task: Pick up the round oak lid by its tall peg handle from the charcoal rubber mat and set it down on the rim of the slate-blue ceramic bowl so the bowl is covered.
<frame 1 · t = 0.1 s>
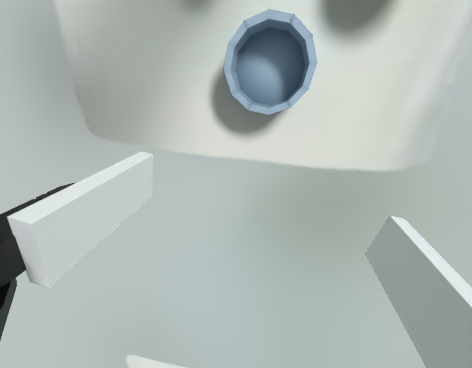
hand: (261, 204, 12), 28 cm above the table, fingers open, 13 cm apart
bowl: (269, 69, 33), on the table
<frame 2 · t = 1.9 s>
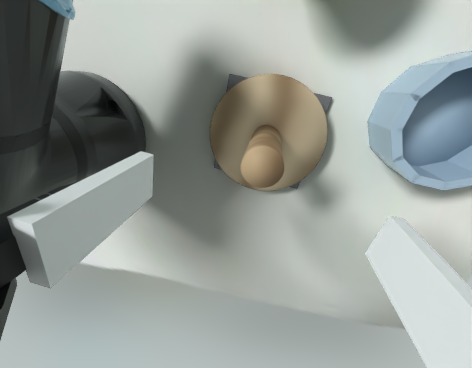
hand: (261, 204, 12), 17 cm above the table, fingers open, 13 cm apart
mat: (266, 135, 27), on the table
bowl: (427, 119, 24), on the table
lid: (266, 136, 27), resting on mat
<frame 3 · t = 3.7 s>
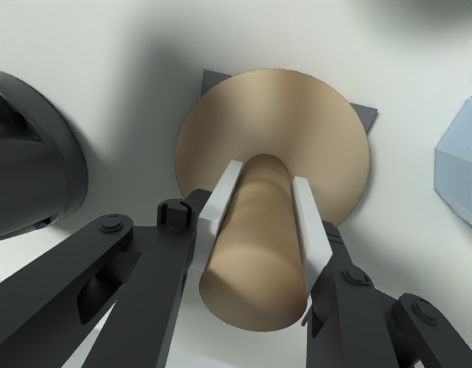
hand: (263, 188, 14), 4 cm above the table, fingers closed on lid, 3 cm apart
mat: (265, 166, 17), on the table
lid: (265, 168, 17), point 1 cm above the table, touching gripper, mat
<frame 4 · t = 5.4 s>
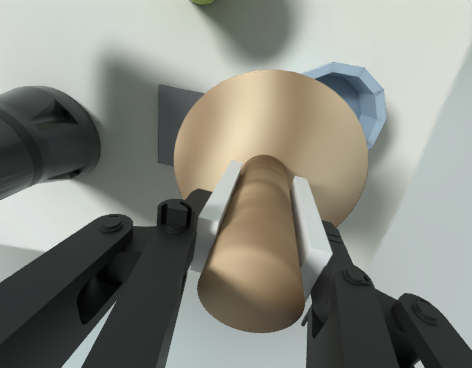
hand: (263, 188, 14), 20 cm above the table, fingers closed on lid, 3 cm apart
mat: (196, 133, 33), on the table
bowl: (317, 116, 30), on the table
lid: (264, 169, 17), point 16 cm above the table, touching gripper
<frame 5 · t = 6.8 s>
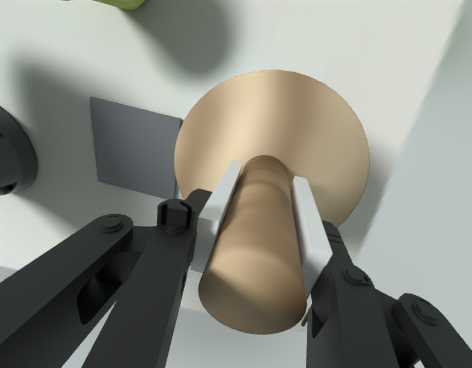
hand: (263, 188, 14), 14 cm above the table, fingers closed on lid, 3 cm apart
mat: (136, 152, 29), on the table
lid: (265, 169, 17), point 10 cm above the table, touching gripper
when the fingers open (11 cm above the table, at t = 7.5 s): lid drops 2 cm, resting on bowl.
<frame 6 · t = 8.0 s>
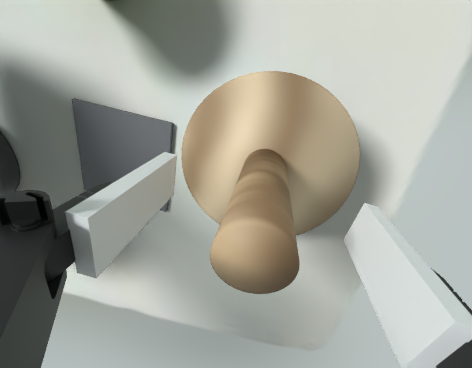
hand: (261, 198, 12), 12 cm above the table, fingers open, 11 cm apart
mat: (125, 159, 27), on the table
lid: (265, 163, 18), point 5 cm above the table, touching bowl
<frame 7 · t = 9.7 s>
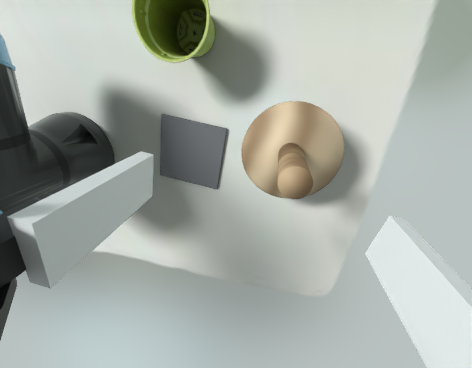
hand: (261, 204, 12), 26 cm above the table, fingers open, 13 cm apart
plant pot: (196, 33, 32), on the table
mat: (191, 153, 40), on the table
lid: (289, 151, 31), point 5 cm above the table, touching bowl
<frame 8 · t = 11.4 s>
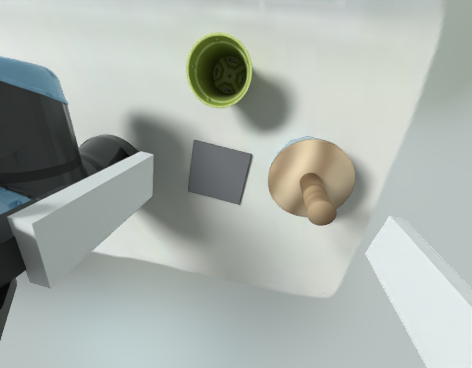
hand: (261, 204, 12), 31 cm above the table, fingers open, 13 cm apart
plant pot: (230, 75, 37), on the table
mat: (218, 173, 46), on the table
lid: (308, 178, 37), point 5 cm above the table, touching bowl
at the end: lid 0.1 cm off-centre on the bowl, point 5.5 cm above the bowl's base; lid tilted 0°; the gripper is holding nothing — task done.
